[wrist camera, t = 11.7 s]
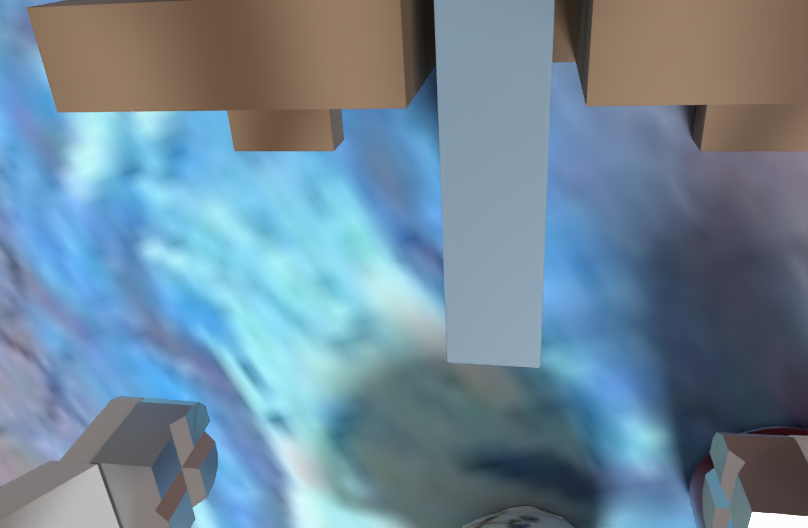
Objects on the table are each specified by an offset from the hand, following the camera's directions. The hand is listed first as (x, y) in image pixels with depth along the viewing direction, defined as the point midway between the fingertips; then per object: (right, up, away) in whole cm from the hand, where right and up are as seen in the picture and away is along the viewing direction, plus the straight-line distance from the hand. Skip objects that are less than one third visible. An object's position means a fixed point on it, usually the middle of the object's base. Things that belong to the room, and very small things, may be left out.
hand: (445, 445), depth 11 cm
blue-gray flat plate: (+3, +12, +12) cm, 17 cm away
